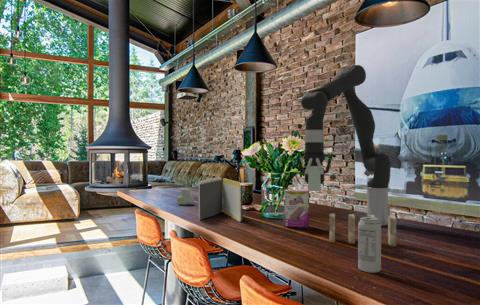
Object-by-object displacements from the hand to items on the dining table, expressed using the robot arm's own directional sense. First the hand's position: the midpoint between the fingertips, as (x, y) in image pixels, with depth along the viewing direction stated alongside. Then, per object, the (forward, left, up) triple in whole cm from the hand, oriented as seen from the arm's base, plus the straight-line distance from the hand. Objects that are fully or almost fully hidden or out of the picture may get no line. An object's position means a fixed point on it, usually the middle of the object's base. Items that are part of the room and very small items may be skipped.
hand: (314, 183), depth 148 cm
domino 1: (0, 0, -3) cm, 3 cm away
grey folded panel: (+34, -48, -21) cm, 63 cm away
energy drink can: (+3, +46, -21) cm, 51 cm away
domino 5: (-22, +20, -21) cm, 36 cm away
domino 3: (-9, +14, -21) cm, 27 cm away
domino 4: (-15, +17, -21) cm, 31 cm away
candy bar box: (+2, -17, -21) cm, 27 cm away
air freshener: (+48, -97, -21) cm, 110 cm away
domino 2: (-2, +11, -21) cm, 24 cm away
